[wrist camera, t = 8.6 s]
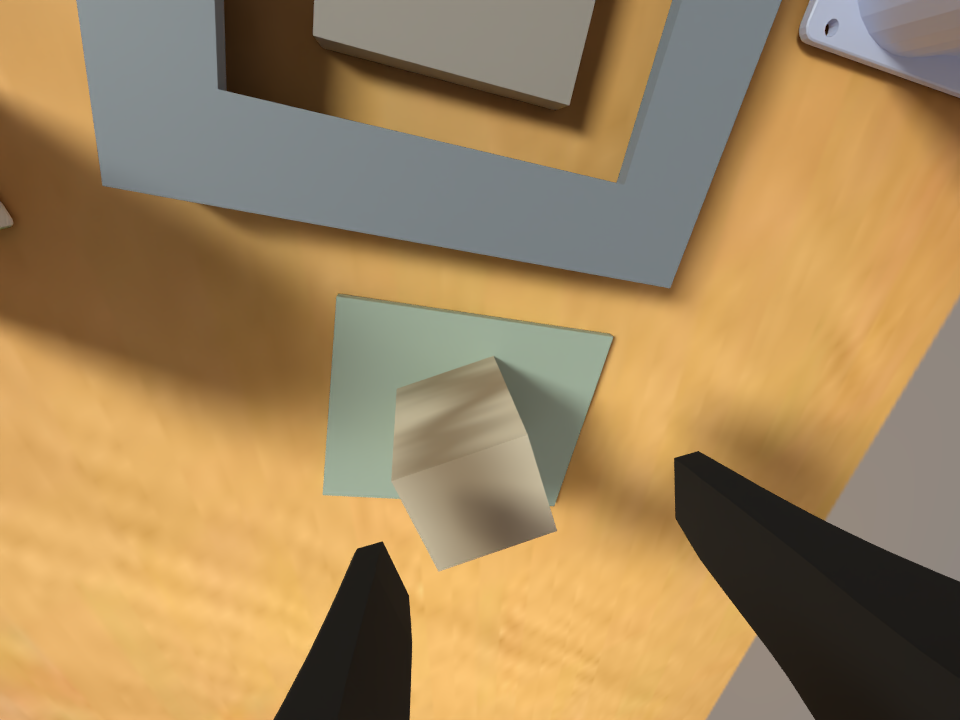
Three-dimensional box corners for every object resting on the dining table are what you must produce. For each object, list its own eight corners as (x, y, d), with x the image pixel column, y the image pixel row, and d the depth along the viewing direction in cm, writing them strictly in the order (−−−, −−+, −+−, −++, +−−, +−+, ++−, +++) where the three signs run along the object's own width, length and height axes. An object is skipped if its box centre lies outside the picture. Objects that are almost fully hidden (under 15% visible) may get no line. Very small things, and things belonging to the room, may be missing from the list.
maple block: (493, 355, 19) (527, 434, 13) (518, 434, 21) (556, 531, 15) (396, 388, 19) (391, 481, 13) (431, 464, 21) (438, 571, 15)
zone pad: (609, 333, 19) (613, 336, 19) (552, 500, 23) (554, 506, 23) (337, 293, 17) (336, 296, 16) (324, 489, 21) (322, 494, 20)
